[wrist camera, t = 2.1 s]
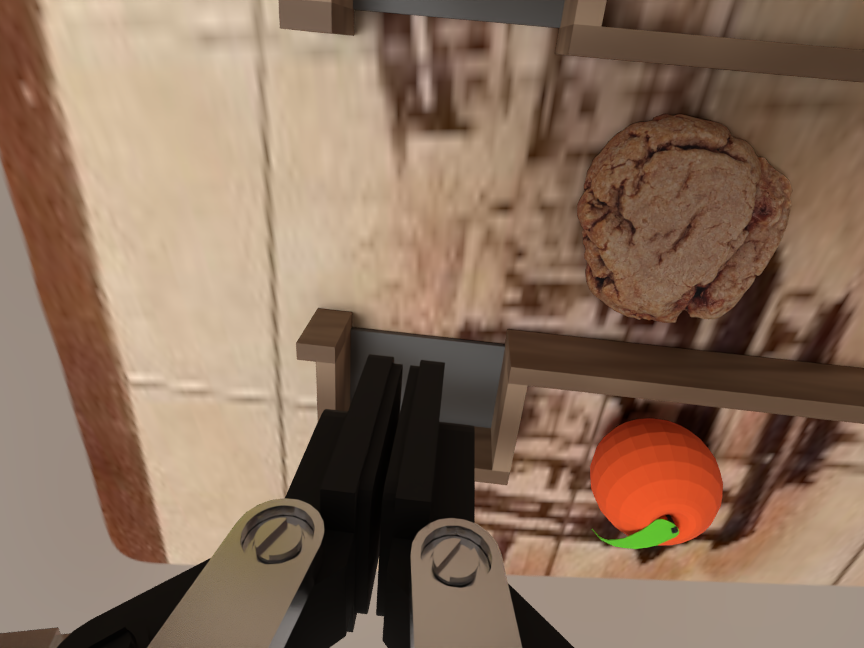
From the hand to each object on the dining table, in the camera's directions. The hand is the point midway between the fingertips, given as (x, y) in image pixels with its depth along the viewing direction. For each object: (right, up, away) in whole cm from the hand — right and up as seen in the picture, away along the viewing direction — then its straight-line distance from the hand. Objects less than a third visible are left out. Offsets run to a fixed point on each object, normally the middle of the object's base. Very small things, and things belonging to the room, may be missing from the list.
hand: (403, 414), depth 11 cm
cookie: (+12, +7, +15) cm, 21 cm away
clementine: (+13, -6, +21) cm, 26 cm away
